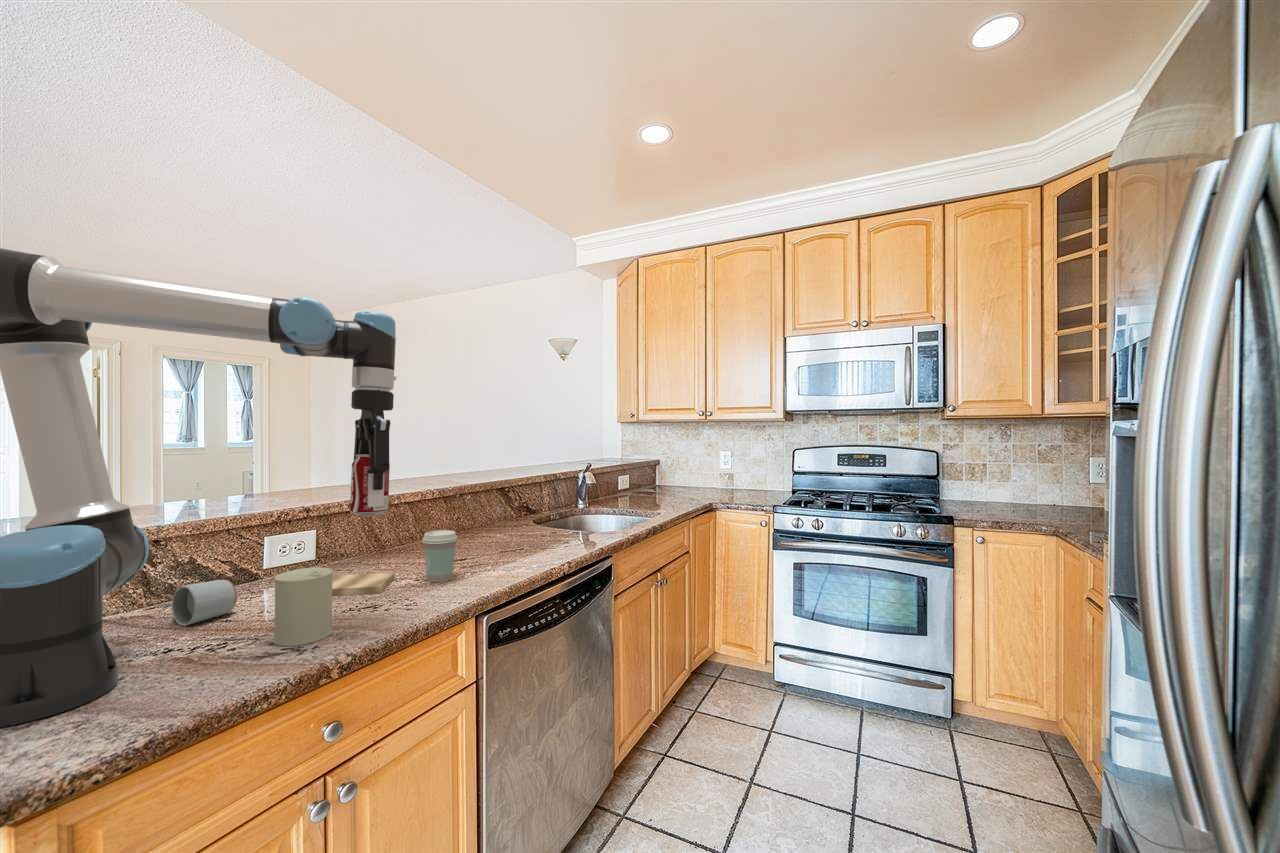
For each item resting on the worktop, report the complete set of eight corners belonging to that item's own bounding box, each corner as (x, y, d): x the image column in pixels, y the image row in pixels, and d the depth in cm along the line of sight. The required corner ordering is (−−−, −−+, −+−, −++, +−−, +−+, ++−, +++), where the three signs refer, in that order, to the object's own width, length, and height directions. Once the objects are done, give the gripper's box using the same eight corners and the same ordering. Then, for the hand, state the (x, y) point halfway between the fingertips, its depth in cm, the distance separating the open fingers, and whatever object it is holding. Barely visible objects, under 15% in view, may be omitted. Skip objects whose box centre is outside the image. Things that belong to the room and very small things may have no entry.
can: (303, 648, 89) (304, 579, 89) (259, 643, 91) (260, 576, 91) (344, 628, 98) (345, 566, 98) (303, 625, 100) (304, 563, 100)
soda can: (395, 514, 104) (396, 455, 104) (362, 518, 98) (364, 455, 98) (375, 510, 107) (377, 453, 108) (343, 514, 102) (345, 454, 102)
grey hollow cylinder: (240, 614, 106) (240, 577, 106) (194, 628, 98) (194, 588, 98) (207, 609, 109) (207, 573, 109) (160, 622, 102) (160, 583, 102)
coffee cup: (433, 574, 136) (433, 529, 136) (463, 575, 135) (463, 530, 135) (414, 583, 128) (415, 535, 128) (446, 585, 127) (447, 536, 127)
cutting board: (304, 597, 117) (305, 590, 117) (326, 582, 128) (326, 575, 128) (380, 593, 120) (380, 586, 120) (394, 578, 132) (394, 572, 132)
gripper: (410, 389, 99) (406, 508, 98) (376, 394, 113) (373, 498, 112) (368, 386, 94) (364, 511, 93) (338, 391, 108) (334, 500, 107)
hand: (369, 504), depth 103 cm, fingers closed on soda can, 7 cm apart
